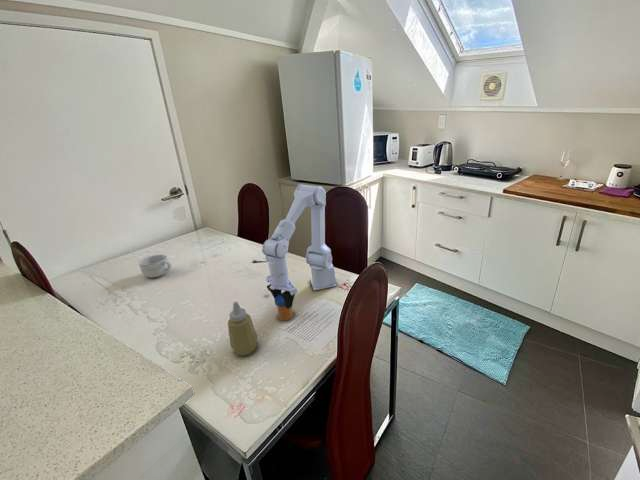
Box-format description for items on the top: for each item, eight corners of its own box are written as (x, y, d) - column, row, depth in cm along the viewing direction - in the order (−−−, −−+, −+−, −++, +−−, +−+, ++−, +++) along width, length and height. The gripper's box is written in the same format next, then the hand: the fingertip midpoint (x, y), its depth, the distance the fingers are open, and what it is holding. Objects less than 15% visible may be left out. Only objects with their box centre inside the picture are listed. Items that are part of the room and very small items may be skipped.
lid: (276, 298, 114) (275, 293, 114) (292, 296, 115) (291, 291, 115) (274, 307, 109) (273, 303, 108) (291, 305, 110) (290, 301, 109)
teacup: (138, 277, 141) (132, 262, 138) (161, 266, 150) (156, 251, 147) (159, 283, 136) (153, 267, 133) (181, 271, 145) (176, 256, 142)
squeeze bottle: (237, 341, 103) (226, 295, 96) (262, 339, 104) (252, 294, 97) (228, 359, 96) (216, 312, 89) (255, 357, 96) (245, 310, 89)
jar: (291, 310, 118) (288, 293, 115) (294, 318, 114) (291, 301, 111) (277, 314, 116) (274, 297, 113) (280, 322, 112) (277, 304, 109)
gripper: (256, 269, 108) (262, 302, 114) (282, 283, 100) (287, 317, 106) (273, 262, 113) (278, 293, 119) (299, 274, 105) (303, 307, 111)
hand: (284, 304), depth 113 cm, fingers closed on lid, 6 cm apart
